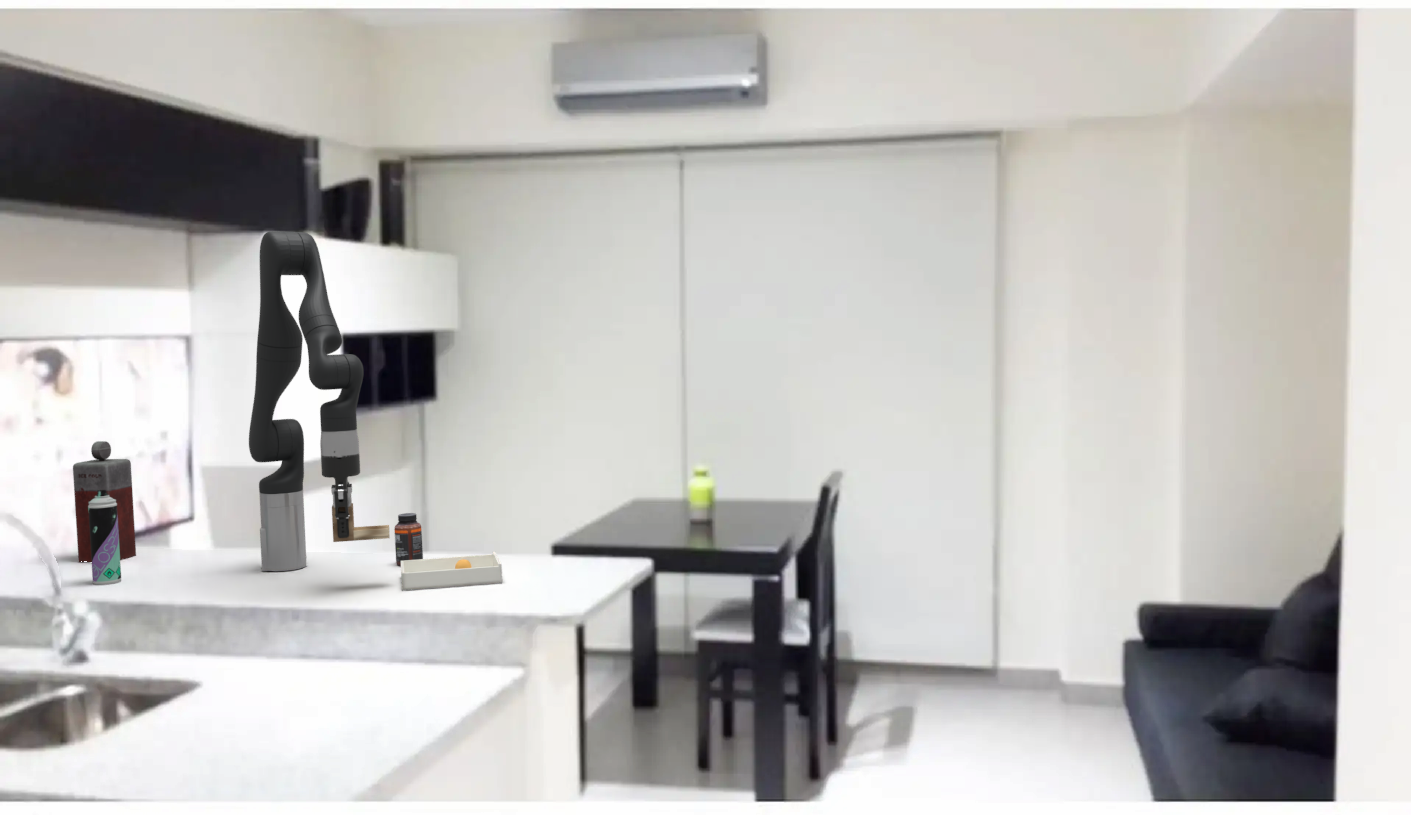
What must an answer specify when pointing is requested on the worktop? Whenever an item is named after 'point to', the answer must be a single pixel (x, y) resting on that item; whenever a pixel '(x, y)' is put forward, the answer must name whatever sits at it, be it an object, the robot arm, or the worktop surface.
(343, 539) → the scoop
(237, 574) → the worktop surface
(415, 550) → the supplement bottle
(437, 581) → the tray
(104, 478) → the red and grey canister
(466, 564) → the ball
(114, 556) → the spray can
